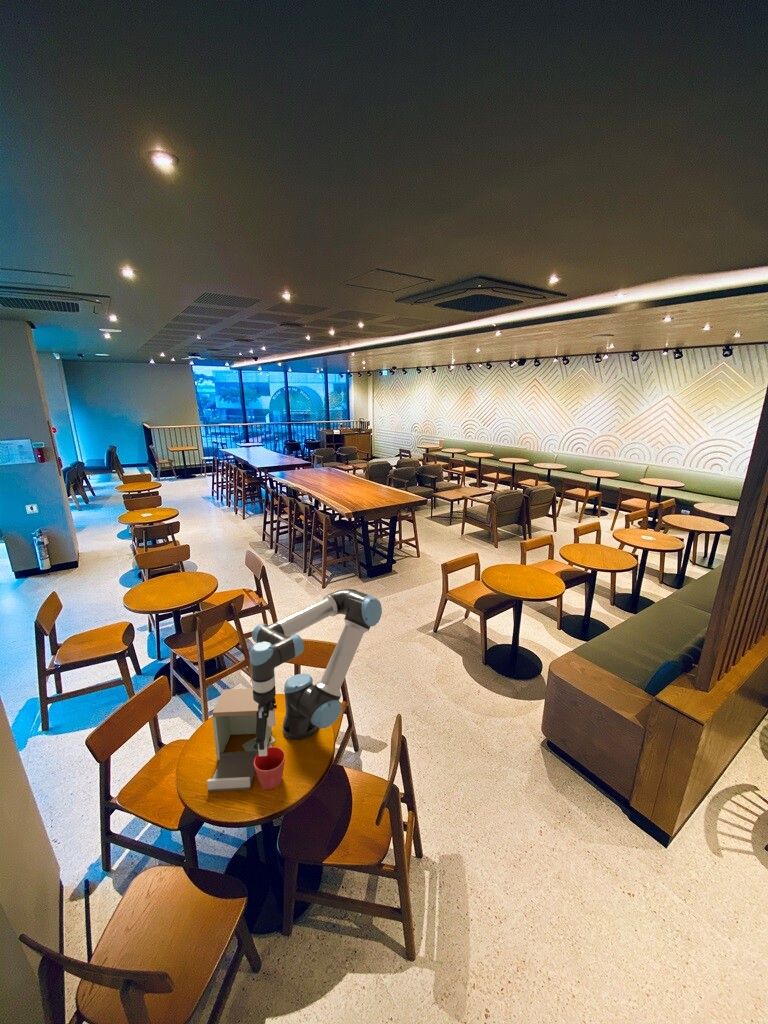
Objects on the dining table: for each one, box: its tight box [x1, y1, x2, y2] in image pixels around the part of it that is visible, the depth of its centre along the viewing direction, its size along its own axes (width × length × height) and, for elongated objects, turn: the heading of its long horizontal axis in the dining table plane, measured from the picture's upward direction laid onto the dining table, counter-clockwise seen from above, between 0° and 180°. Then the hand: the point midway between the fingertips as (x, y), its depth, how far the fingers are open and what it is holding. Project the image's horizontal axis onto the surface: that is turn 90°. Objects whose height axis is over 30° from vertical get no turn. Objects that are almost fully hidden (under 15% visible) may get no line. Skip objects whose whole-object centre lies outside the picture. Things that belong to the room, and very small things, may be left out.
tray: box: [206, 750, 259, 792], centre depth 146 cm, size 15×14×4 cm
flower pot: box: [254, 746, 286, 790], centre depth 143 cm, size 11×11×10 cm
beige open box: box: [211, 687, 273, 761], centre depth 158 cm, size 18×14×21 cm
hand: (267, 739), depth 140 cm, fingers open, 13 cm apart
